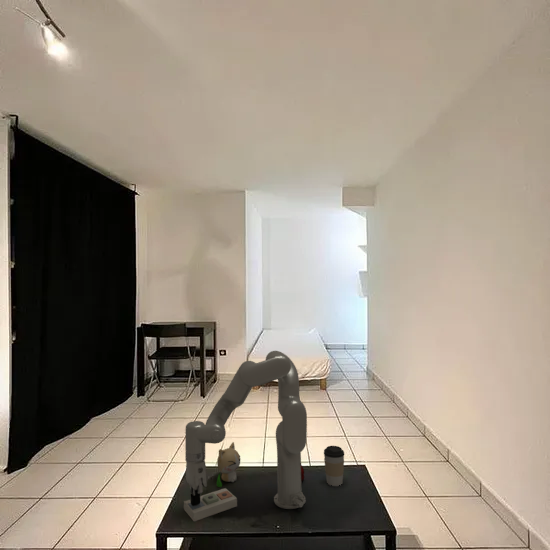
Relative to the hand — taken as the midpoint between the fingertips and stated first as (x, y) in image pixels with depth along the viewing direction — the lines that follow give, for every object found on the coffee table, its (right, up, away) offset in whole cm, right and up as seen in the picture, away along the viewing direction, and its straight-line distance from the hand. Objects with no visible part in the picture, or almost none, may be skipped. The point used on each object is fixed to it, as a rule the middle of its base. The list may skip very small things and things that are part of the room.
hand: (195, 503), depth 153 cm
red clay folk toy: (+40, -4, +24) cm, 46 cm away
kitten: (+10, -4, +26) cm, 28 cm away
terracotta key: (+10, -3, +7) cm, 13 cm away
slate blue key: (0, -3, 0) cm, 3 cm away
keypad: (+5, -3, +3) cm, 7 cm away
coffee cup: (+57, -3, +22) cm, 61 cm away
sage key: (+5, -2, +3) cm, 7 cm away
